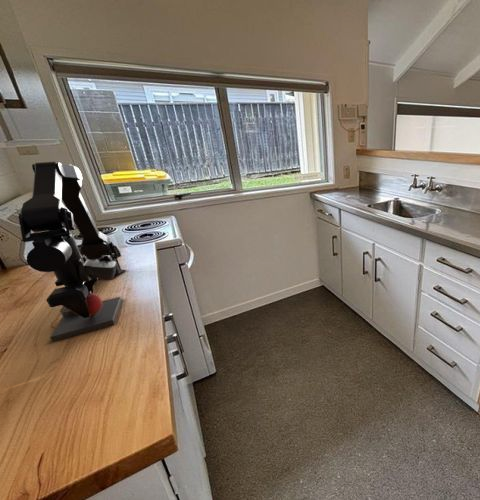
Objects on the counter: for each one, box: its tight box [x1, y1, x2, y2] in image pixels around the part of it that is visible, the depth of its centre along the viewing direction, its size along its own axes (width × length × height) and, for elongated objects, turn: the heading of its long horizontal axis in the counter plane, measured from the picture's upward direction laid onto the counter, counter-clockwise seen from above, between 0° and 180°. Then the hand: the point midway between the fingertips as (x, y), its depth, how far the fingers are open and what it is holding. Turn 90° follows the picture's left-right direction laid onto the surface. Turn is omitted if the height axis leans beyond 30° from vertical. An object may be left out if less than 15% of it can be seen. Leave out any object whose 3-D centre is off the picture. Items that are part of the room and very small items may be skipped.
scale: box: [49, 296, 123, 343], centre depth 75 cm, size 14×12×3 cm
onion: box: [74, 292, 103, 317], centre depth 73 cm, size 6×6×8 cm
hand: (90, 311), depth 74 cm, fingers closed on onion, 6 cm apart
